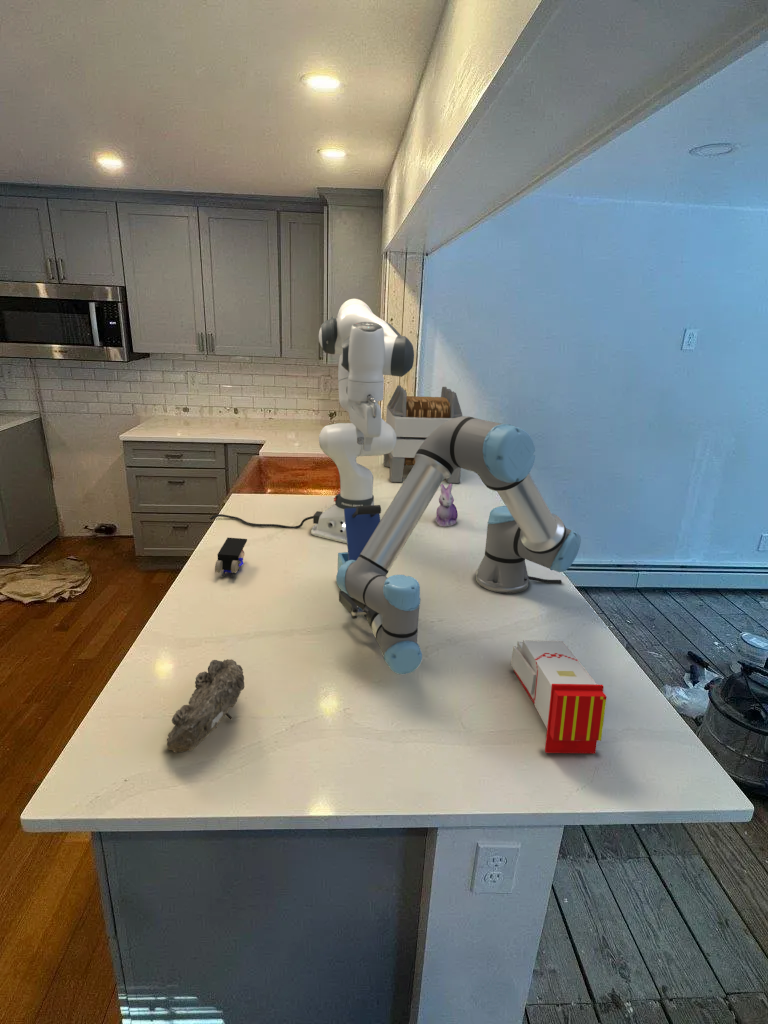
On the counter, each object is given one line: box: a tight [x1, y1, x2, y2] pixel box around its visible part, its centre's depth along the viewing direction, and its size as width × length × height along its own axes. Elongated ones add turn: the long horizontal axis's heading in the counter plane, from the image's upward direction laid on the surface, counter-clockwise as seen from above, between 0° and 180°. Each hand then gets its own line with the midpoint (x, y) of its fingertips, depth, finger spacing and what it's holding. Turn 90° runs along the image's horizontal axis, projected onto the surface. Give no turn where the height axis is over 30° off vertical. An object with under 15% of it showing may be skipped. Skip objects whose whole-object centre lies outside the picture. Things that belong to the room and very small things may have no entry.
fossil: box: [166, 658, 245, 754], centre depth 106 cm, size 22×10×15 cm
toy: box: [510, 639, 607, 754], centre depth 114 cm, size 12×13×30 cm
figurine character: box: [214, 537, 248, 578], centre depth 166 cm, size 7×8×15 cm
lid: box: [344, 504, 382, 561], centre depth 144 cm, size 18×9×9 cm
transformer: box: [383, 384, 463, 484], centre depth 268 cm, size 34×33×41 cm
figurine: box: [434, 483, 459, 527], centre depth 210 cm, size 9×10×15 cm
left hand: (363, 447), depth 144 cm, fingers open, 6 cm apart
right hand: (364, 579), depth 150 cm, fingers closed on chest, 9 cm apart
